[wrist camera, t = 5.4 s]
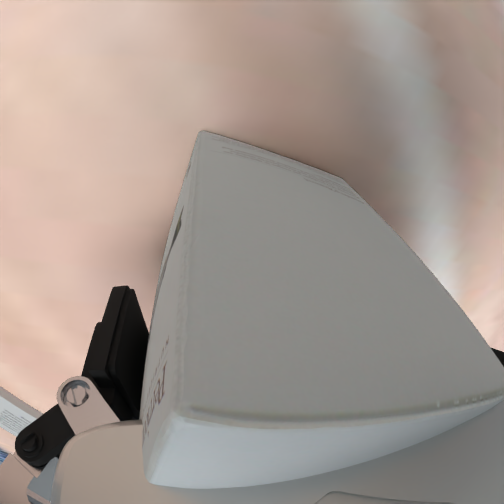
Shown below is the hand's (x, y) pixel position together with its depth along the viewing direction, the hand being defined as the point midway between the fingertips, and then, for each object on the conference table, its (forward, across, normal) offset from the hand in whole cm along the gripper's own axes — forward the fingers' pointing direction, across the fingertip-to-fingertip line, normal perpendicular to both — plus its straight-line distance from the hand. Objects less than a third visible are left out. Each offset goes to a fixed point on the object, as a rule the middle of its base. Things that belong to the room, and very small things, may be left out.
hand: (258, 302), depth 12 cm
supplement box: (+5, 0, -1) cm, 5 cm away
